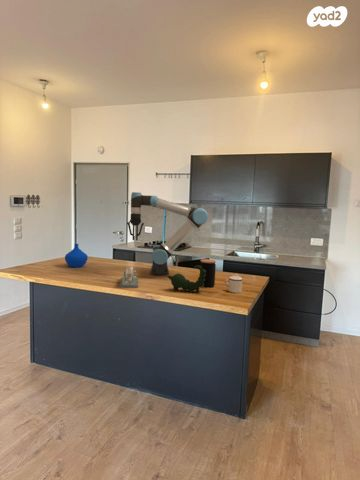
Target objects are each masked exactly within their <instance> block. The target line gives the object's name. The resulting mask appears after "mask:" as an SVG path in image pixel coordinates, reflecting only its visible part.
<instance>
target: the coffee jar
mask: <svg viewBox="0 0 360 480" xmlns="http://www.w3.org/2000/svg"><path fill="white" fill-rule="evenodd" d="M216 262H217V261H216V260H215V259H209V258H207V259H206V258H205V259H204V258H202V259H200V265H199V266H201V267H202V269H204V270H206V273H205V274H206V276H205V278H204V279H205V282H203V283H204V287H203V288H207V287H210V288H214V286H215V285H216V269H217V268H216V266H217V265H216ZM200 273H201V270H199V274H200Z"/></svg>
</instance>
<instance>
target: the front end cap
mask: <svg viewBox="0 0 360 480" xmlns="http://www.w3.org/2000/svg"><path fill="white" fill-rule="evenodd" d="M122 278H123V279H122V285H135V281H136V278H137V275H136V276H133V281H132V283H126V281H125V276H124V275H123V276H122Z"/></svg>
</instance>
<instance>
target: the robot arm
mask: <svg viewBox="0 0 360 480" xmlns="http://www.w3.org/2000/svg"><path fill="white" fill-rule="evenodd" d="M130 195H131V196H130V220H128V221H127V222H126V225H127V226H128V230H129V235H130V236H132V241H133V245H134V246H136V245H137V241H138V240H139V239H138V238H139V236H141V233H142V230H143V226H144V224H145V223H144V222H143V221H142V220H141V219H142V217H141V216H142V215H141V213H142V206H146V207H153V208H156V209H158V210H159V209H160V210H163V211H166V212H170V213H173V214H176V215H178V216H183V217H185V218H186V220H187V221H185V222H184V223H183V224H182V226H180V228H178V229H177V231H175V232H174V233H173V234H172V236H170V237H169V238H168V239H167V241H165V243H164V242H163V243H161V244H153V246H152V254H151V259H152V264H151V267H150V270H149V274H150V275H154V276H169V274H170V270H169V266H168V261H169V259H170V257H172V256H173V254H174V251H175V250H176V249H177V248H178V247H179V246H180V245H181V244H182V243H183V242H184V241H185V240H186V239H187V238H188V237H189V236H190V235H191V234H192V233H193V231H194V230H198V229H199V228H201V227H202V226H203V225H204V224H206V223H207V221H208V220H209V213H208V212H207V210H206V209H204V208H202V207H193V206H189V207H188V206H185V205H182V204H178V203H175V202H173V201H168V200H166V199H163V198H159V197H158V196H157V195H142V192H140V191H139V192H135V191H132V192H131V194H130ZM131 225H132V229H131ZM139 225H140V228H139ZM135 228H136V229H135ZM135 231H136V232H135Z"/></svg>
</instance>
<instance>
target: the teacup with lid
mask: <svg viewBox="0 0 360 480" xmlns="http://www.w3.org/2000/svg"><path fill="white" fill-rule="evenodd" d="M243 279H244V278H242V277H241V276H239V275H238V273H234V275H231V276H229V277H228V279H225V280H224V281H223V282H224V286H225V287H226V288H228V292H230V293H233V294H234V293H235V294H239V293H242V291H243ZM227 281H228V285H227V283H226V282H227Z"/></svg>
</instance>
